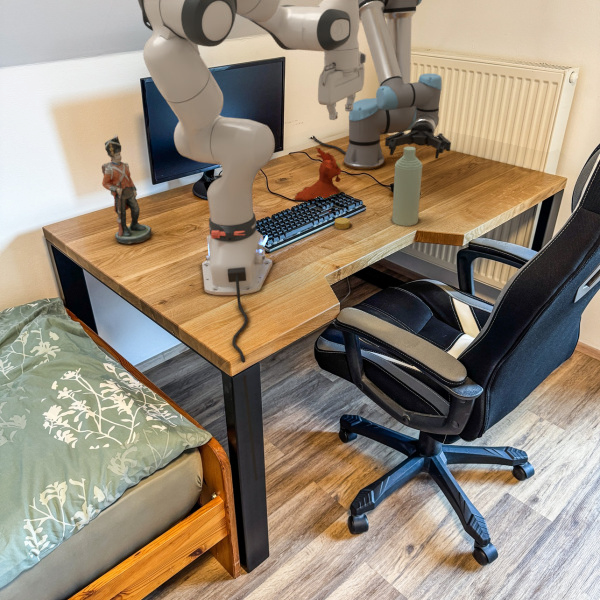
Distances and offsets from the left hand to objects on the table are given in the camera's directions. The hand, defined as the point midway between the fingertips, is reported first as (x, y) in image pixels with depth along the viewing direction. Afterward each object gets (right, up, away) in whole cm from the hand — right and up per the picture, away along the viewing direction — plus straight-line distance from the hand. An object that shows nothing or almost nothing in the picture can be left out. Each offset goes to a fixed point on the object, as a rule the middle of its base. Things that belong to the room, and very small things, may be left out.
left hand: (341, 115), depth 151 cm
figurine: (-61, -31, +17) cm, 70 cm away
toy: (-5, -14, +41) cm, 43 cm away
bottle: (+21, -26, +20) cm, 39 cm away
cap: (+2, -26, +18) cm, 32 cm away
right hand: (+23, -5, +18) cm, 30 cm away
